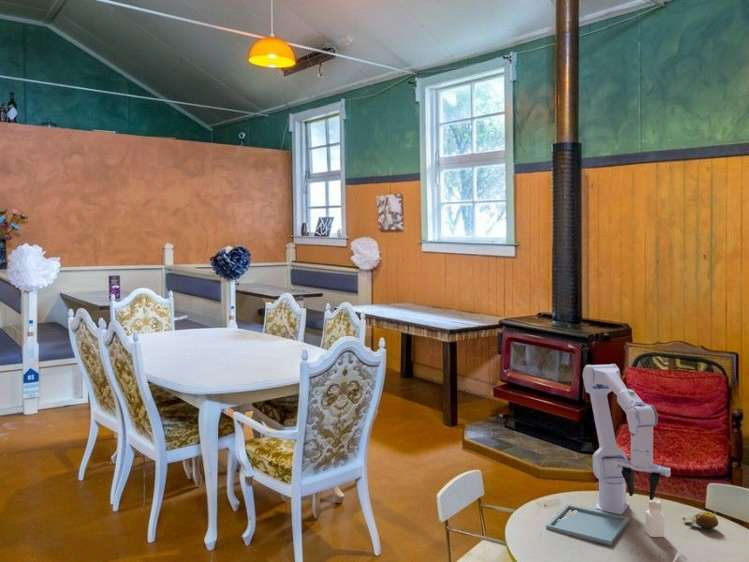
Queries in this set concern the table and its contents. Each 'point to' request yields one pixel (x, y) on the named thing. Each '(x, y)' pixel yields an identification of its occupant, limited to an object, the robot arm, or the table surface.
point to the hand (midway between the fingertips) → (641, 496)
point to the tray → (589, 525)
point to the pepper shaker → (654, 519)
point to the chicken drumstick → (704, 520)
